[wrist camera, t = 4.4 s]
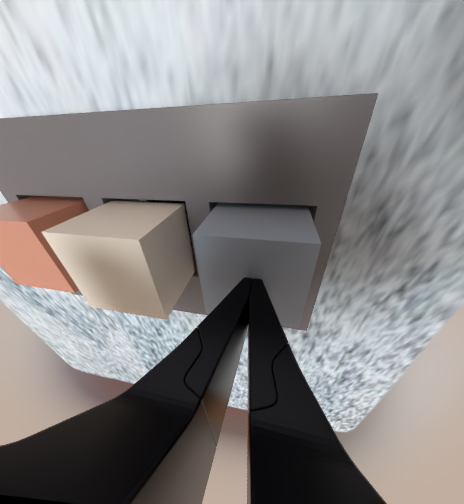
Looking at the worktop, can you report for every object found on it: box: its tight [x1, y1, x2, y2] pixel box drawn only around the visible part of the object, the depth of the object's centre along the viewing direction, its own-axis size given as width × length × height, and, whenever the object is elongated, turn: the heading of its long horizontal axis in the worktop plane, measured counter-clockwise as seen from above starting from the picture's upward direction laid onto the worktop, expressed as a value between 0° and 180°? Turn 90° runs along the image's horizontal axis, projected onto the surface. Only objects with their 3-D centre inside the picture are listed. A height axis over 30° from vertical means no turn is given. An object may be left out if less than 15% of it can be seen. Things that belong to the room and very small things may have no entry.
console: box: [0, 93, 378, 331], centre depth 14 cm, size 22×14×3 cm, turn 92°
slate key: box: [193, 202, 321, 328], centre depth 10 cm, size 5×5×4 cm
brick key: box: [0, 196, 89, 293], centre depth 13 cm, size 5×5×4 cm
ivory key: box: [42, 201, 196, 320], centre depth 11 cm, size 5×5×4 cm
